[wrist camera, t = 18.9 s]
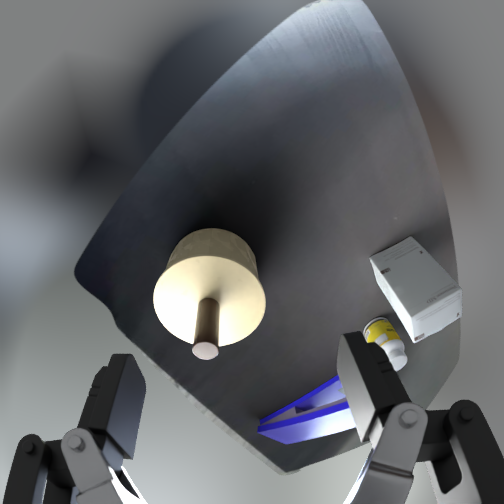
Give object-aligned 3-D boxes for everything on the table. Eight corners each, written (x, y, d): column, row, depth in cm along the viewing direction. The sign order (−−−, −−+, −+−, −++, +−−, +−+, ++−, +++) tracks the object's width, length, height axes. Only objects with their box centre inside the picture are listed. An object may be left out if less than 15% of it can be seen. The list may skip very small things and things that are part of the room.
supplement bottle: (393, 325, 51) (415, 360, 43) (371, 342, 53) (389, 379, 44) (381, 311, 49) (404, 347, 41) (357, 329, 51) (376, 368, 42)
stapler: (382, 377, 59) (397, 410, 50) (286, 433, 66) (291, 465, 57) (358, 357, 54) (375, 394, 46) (255, 419, 62) (258, 455, 53)
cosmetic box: (410, 234, 43) (465, 284, 30) (416, 263, 46) (465, 316, 32) (365, 258, 44) (411, 317, 31) (375, 286, 47) (415, 346, 34)
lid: (133, 286, 35) (113, 332, 27) (225, 229, 32) (223, 270, 25) (198, 353, 40) (194, 402, 33) (283, 312, 38) (296, 362, 30)
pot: (153, 257, 42) (138, 289, 34) (225, 211, 40) (224, 237, 32) (203, 315, 47) (199, 353, 39) (271, 279, 45) (279, 314, 37)
